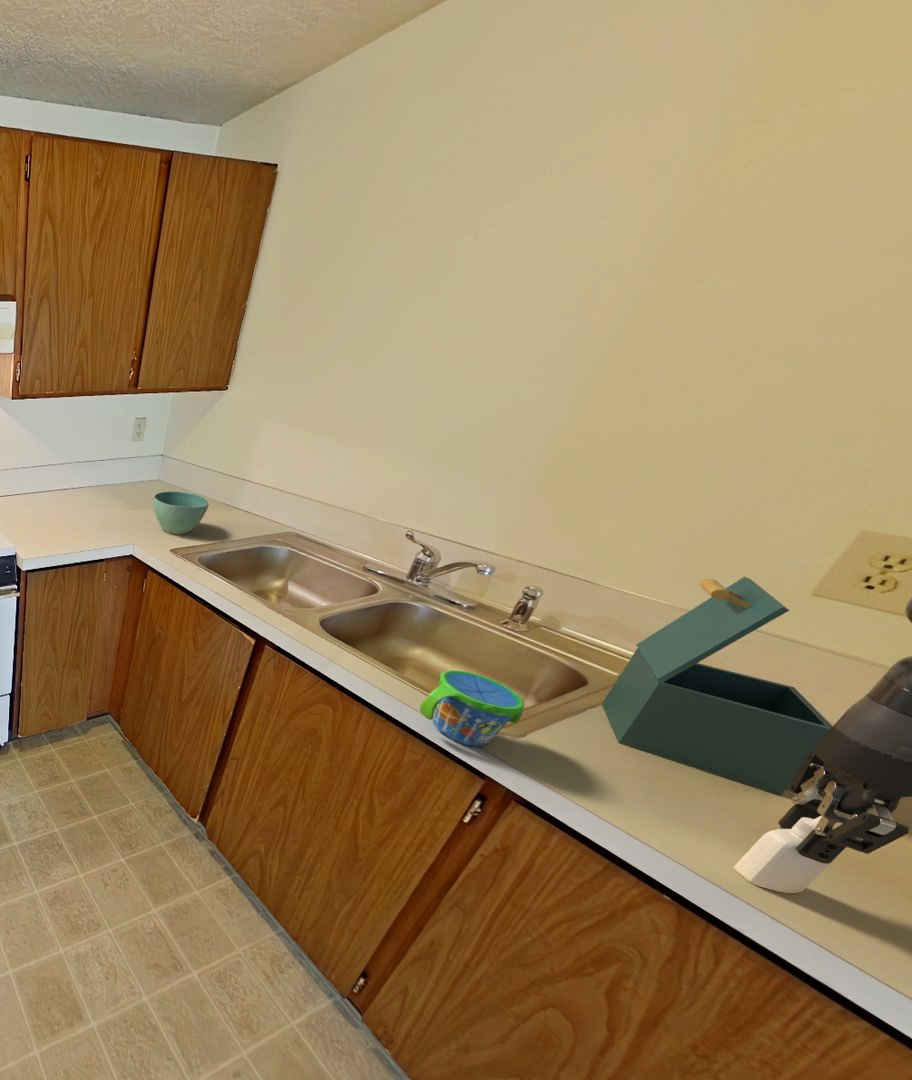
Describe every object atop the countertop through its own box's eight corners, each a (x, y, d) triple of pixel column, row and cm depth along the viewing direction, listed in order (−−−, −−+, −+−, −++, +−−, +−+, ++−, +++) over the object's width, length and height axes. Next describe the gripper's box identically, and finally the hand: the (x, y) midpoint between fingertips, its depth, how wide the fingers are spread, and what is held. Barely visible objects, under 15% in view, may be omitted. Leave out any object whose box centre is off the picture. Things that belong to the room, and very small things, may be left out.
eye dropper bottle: (723, 855, 71) (778, 793, 66) (794, 882, 67) (857, 819, 63) (737, 878, 68) (795, 816, 63) (811, 908, 64) (879, 844, 60)
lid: (751, 579, 84) (709, 561, 86) (789, 610, 74) (741, 589, 77) (641, 647, 94) (606, 630, 96) (663, 682, 84) (624, 662, 87)
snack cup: (483, 717, 96) (506, 673, 92) (533, 760, 86) (561, 713, 82) (393, 708, 98) (411, 665, 94) (431, 749, 88) (454, 703, 84)
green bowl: (184, 543, 173) (190, 510, 168) (138, 528, 187) (143, 496, 182) (212, 532, 183) (219, 500, 178) (167, 518, 197) (172, 488, 192)
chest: (745, 747, 89) (794, 687, 84) (780, 796, 80) (838, 731, 75) (601, 704, 99) (637, 648, 94) (618, 742, 90) (658, 682, 85)
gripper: (1013, 801, 51) (890, 908, 57) (920, 725, 61) (824, 824, 67) (874, 761, 55) (775, 865, 62) (809, 697, 65) (729, 792, 72)
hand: (801, 843), depth 65 cm, fingers closed on eye dropper bottle, 4 cm apart
